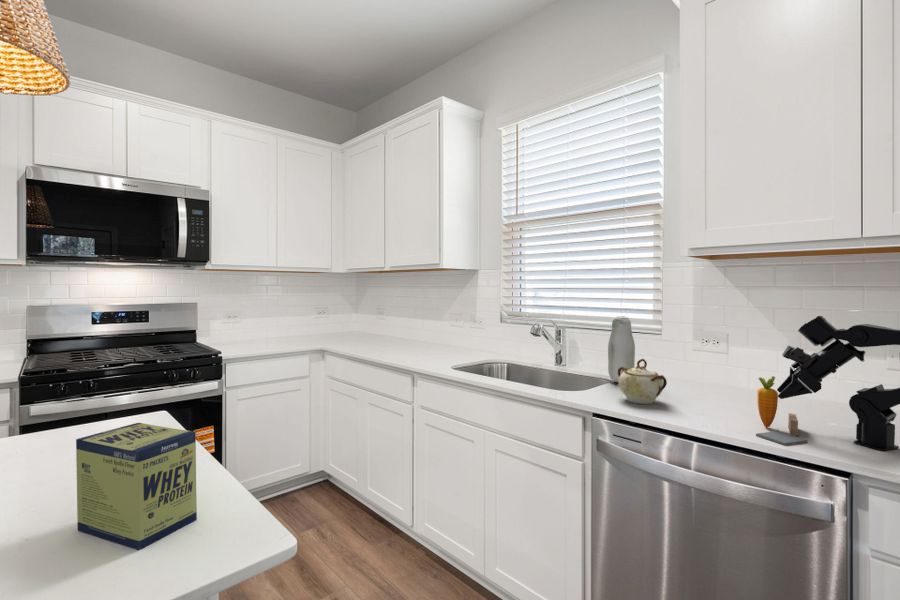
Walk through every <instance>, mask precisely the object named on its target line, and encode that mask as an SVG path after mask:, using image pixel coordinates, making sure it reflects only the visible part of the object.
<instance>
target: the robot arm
mask: <svg viewBox="0 0 900 600" xmlns="http://www.w3.org/2000/svg"><path fill="white" fill-rule="evenodd" d="M797 332H799V334H801V335H802V336H803V337H804V338H805V339H806V340H808V341H809V342H810V343H811V344H812V345H813V346H814V347H817V346H820V347H822V348H823V347H824V348H823V349H821V350H819V352H813V353H811V354H809V353H808V352H807V353H806V352H805V350H804V349H802V348H800V347H799V346H797V347H794V346H791V345H790V344H789V345H787V346H786V348H785V349H784V351H783V352H782V354H781V355H782V357H783V358H785V359H787V360H792V361H793V363H791V365H790V367H789V375H788V376H787V378H785V379H784V381H783V382H782V383H781V384H780V385H779V386H778V387H777V389H776V391H777V393H778V399H780V400H784V399H788V398H792V397H798V396H802V395H808V394H809V395H811V394H813V393H814V394H815V393H818V392H819V391H821V390H822V382H823V379H825V378H826V377H827V376H829V375H830V374H836V372H837V370H838V369H839V368H841V367H842V366H844V365H845V364H847V363H848V362H850V361H852V360H853V359H855V358H856V359H858V360H859V362H861V363H862V362H865V355H866V351H865V350H859V349H858V348H869V347H870V348H871V347H884V346H893V345H894V346H895V345H896V346H900V329H897V328H896V329H895V328H893V327H886V326H880V325H876V324H869V323H862V324H856V325H852V326H850V327H849V328H848V329H845V328H839V329H837V328H836V327H835V326H833V325H832V324H831V322H829V321H828V320H827V319H826V318H825V317H824V316H823V315H817V316H816V317H815V318H813V319H812V320H809V321H808V322H805V323H804V324H803V325H802V326H800V328H799V329H798V330H797ZM832 341H833V342H832ZM843 341H845V342H847V343H844V342H843ZM828 344H829V345H828ZM825 346H826V347H825ZM855 392H856V394H854V395H852V396H850V397H849V401H848V404H849V408H850V409H851V411H853V413H855V414H856V416H857V419H858V423H856V429H855V430H856V431H855V439H856V440H853V443H854V444H857V445H861V446H865V447H868V448H870V449H874V450H877V451H889V450H896V449H899V448H900V447H899V446H898V445H895V439H896V437H895V436H896V424H894V423H891V422H894V420H895V419H896V417H897V413H896V412H895V411H894V410H893V409H892V408H894V407H896V406H899V405H900V387H897V388H896V387H895V388H885V387H884V385H883V384H882V383H881V384H879V385H876V386H873V387H863V388H861V389H859V390H856V391H855Z"/></svg>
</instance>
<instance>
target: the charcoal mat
mask: <svg viewBox="0 0 900 600" xmlns="http://www.w3.org/2000/svg"><path fill="white" fill-rule="evenodd" d="M755 437H759V438H761V439H764V440H768V441H770V442H773V443H776V444H779V445H782V446H790V445H791V446H792V445H797V444H805V443H808V439H805V438H803V437H799V436H793V435H790V433H786V432H783V431H780V430H776V431H766V432H758V433H755Z"/></svg>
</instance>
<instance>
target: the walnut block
mask: <svg viewBox="0 0 900 600" xmlns="http://www.w3.org/2000/svg"><path fill="white" fill-rule="evenodd" d="M787 417H788V423H787V425H788V426H787V428H788V432H789V435H793V436H796V437H799V436H798V433H799V430H798V429H799V421H798V418H797V414H796V413H788V416H787Z"/></svg>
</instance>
